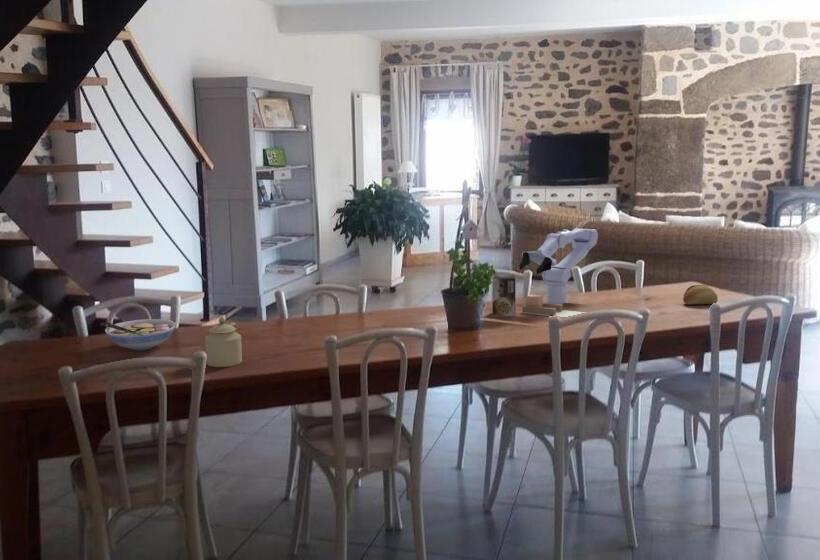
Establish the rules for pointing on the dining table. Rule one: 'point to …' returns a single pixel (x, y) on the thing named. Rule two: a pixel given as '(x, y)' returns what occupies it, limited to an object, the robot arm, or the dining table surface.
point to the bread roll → (699, 295)
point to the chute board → (548, 310)
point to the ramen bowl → (140, 333)
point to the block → (534, 300)
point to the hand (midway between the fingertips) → (528, 269)
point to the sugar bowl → (223, 345)
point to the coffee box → (503, 295)
